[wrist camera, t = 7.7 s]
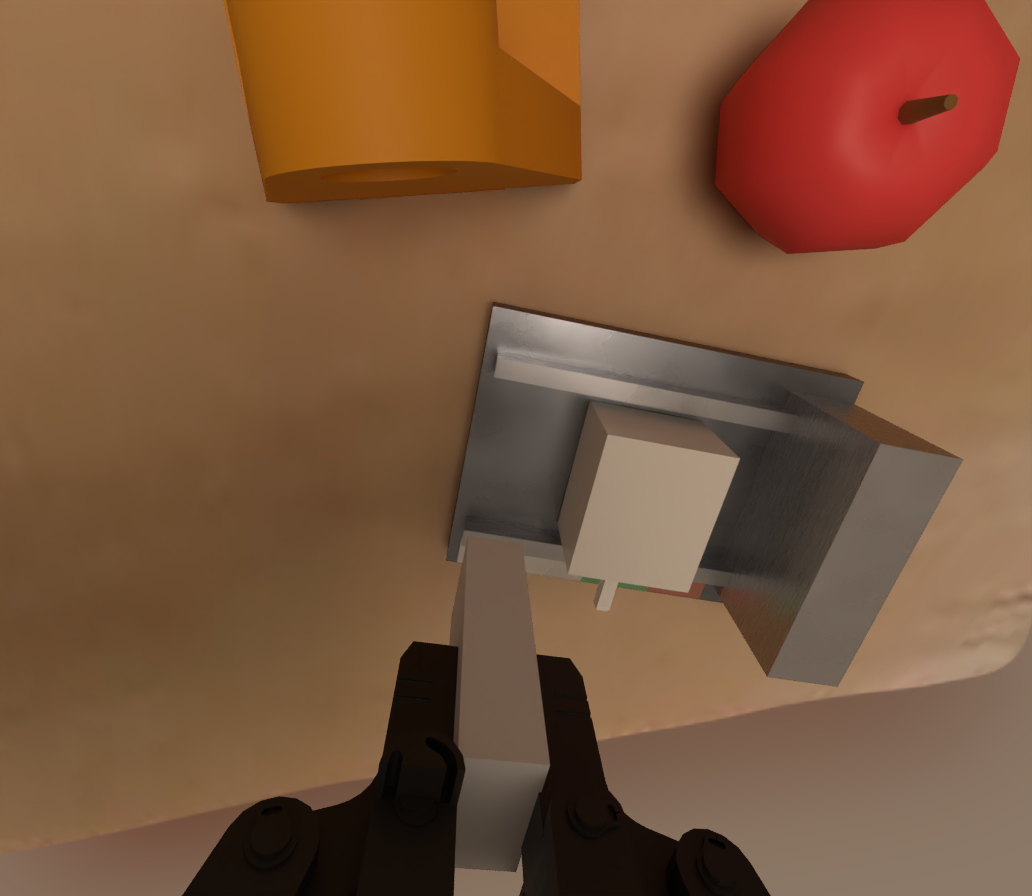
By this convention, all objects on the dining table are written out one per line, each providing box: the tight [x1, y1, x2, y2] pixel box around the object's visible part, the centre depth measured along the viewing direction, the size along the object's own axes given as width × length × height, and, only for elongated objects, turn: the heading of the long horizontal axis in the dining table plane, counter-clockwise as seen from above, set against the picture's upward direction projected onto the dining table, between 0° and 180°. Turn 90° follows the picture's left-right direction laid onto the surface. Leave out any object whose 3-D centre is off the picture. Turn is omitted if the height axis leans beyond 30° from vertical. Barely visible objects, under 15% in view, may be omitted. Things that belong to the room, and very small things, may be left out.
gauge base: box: [446, 302, 963, 687], centre depth 22 cm, size 16×12×7 cm
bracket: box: [223, 0, 582, 203], centre depth 14 cm, size 11×7×12 cm
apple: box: [715, 0, 1020, 254], centre depth 17 cm, size 8×8×8 cm
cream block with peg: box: [558, 401, 740, 611], centre depth 23 cm, size 5×9×4 cm, turn 168°
